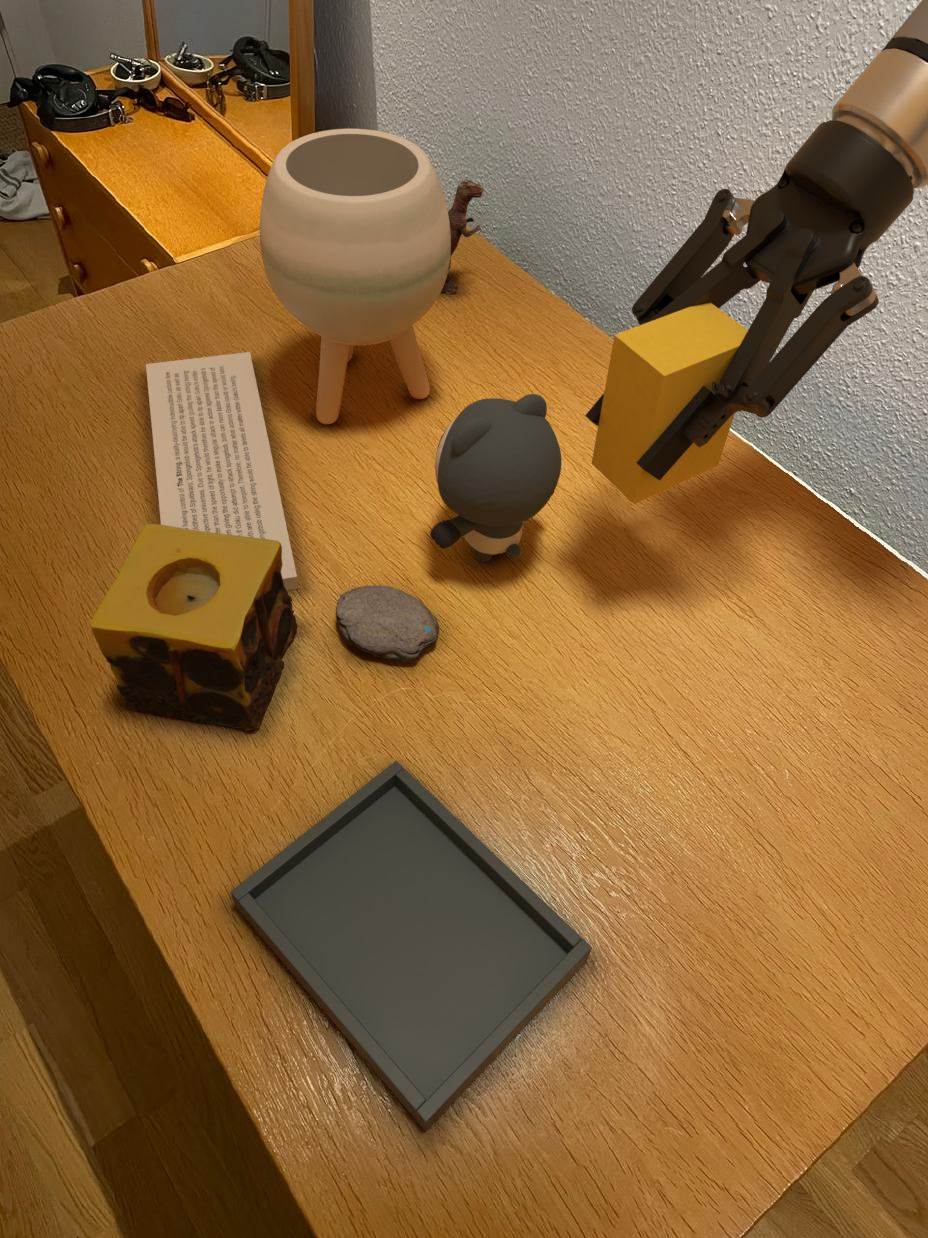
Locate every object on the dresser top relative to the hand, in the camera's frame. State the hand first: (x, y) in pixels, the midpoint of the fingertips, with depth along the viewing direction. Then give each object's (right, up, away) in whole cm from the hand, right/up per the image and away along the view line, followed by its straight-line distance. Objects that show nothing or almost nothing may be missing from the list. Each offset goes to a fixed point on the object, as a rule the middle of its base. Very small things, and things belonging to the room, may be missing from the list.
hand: (622, 447), depth 66 cm
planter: (-21, +10, +27) cm, 36 cm away
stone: (-17, -13, +8) cm, 23 cm away
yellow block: (+3, -1, +4) cm, 5 cm away
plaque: (-33, +1, +19) cm, 38 cm away
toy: (-9, -6, +14) cm, 18 cm away
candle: (-30, -16, +5) cm, 34 cm away
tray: (-14, -32, -7) cm, 35 cm away
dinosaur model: (-16, +24, +39) cm, 49 cm away
